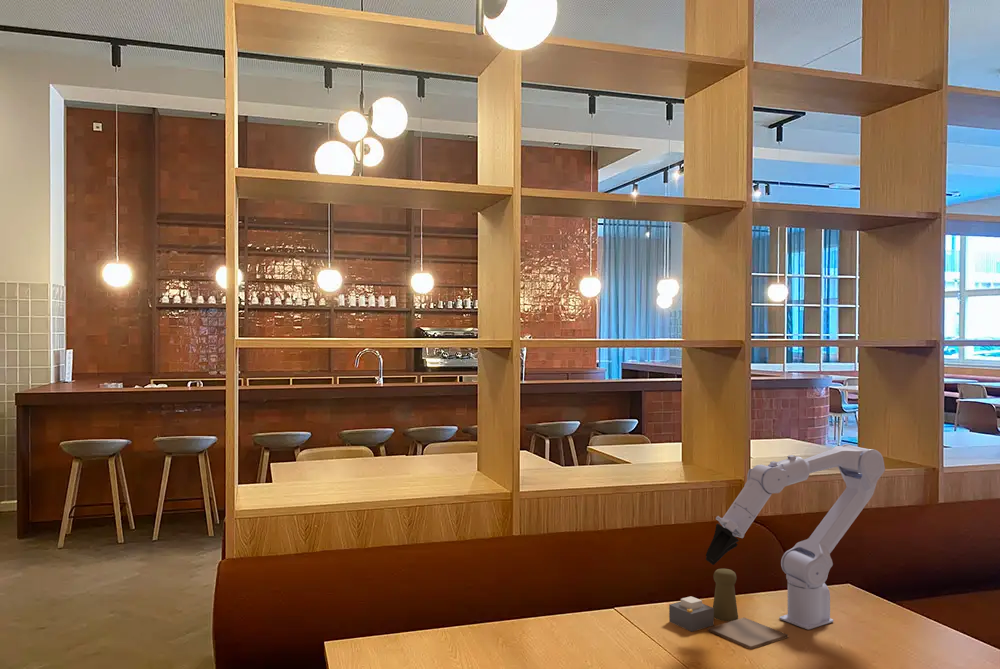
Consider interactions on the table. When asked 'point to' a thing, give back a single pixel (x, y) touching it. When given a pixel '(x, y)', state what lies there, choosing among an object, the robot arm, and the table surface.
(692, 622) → the switch box
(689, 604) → the button
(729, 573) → the olive green pawn
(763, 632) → the coaster
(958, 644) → the table surface
